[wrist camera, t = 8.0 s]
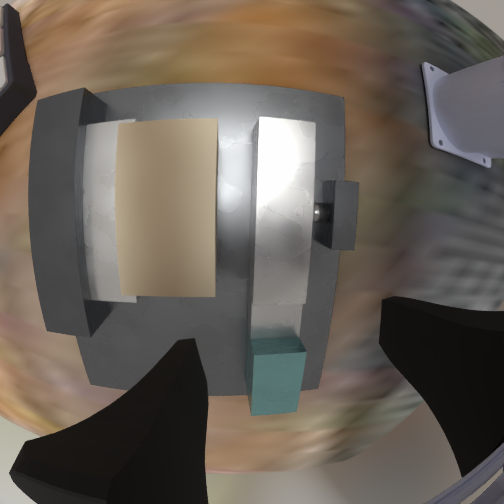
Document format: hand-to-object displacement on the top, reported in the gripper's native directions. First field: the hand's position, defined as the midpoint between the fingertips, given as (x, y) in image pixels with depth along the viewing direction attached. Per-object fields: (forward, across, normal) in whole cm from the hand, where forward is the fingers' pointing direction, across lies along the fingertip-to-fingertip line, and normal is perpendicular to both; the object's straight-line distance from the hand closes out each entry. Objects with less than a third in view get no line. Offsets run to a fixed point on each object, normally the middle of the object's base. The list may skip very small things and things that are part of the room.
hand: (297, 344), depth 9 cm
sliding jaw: (+8, -1, 0) cm, 8 cm away
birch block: (+8, +4, -5) cm, 11 cm away
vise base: (+8, +4, -2) cm, 10 cm away
